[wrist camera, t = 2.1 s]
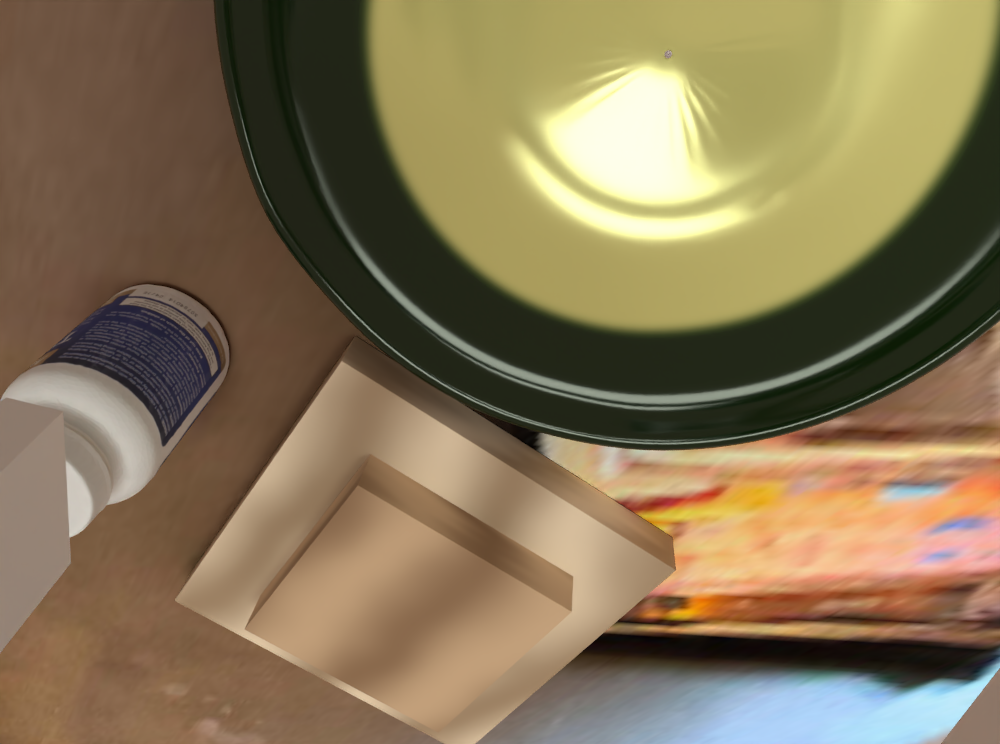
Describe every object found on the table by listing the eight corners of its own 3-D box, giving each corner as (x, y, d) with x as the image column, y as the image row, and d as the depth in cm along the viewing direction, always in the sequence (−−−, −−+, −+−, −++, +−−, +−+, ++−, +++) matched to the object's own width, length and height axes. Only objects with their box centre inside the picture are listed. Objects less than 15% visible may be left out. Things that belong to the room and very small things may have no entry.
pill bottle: (109, 260, 33) (-61, 392, 24) (244, 308, 33) (122, 454, 25) (96, 372, 35) (-60, 526, 27) (221, 415, 36) (105, 579, 27)
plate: (487, 504, 37) (480, 542, 35) (58, -160, 26) (8, -163, 24) (1222, 247, 28) (1271, 278, 26) (1055, -930, 17) (1120, -1046, 15)
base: (192, 569, 41) (154, 634, 37) (355, 335, 33) (326, 389, 30) (468, 719, 44) (457, 790, 41) (672, 537, 37) (679, 606, 33)
